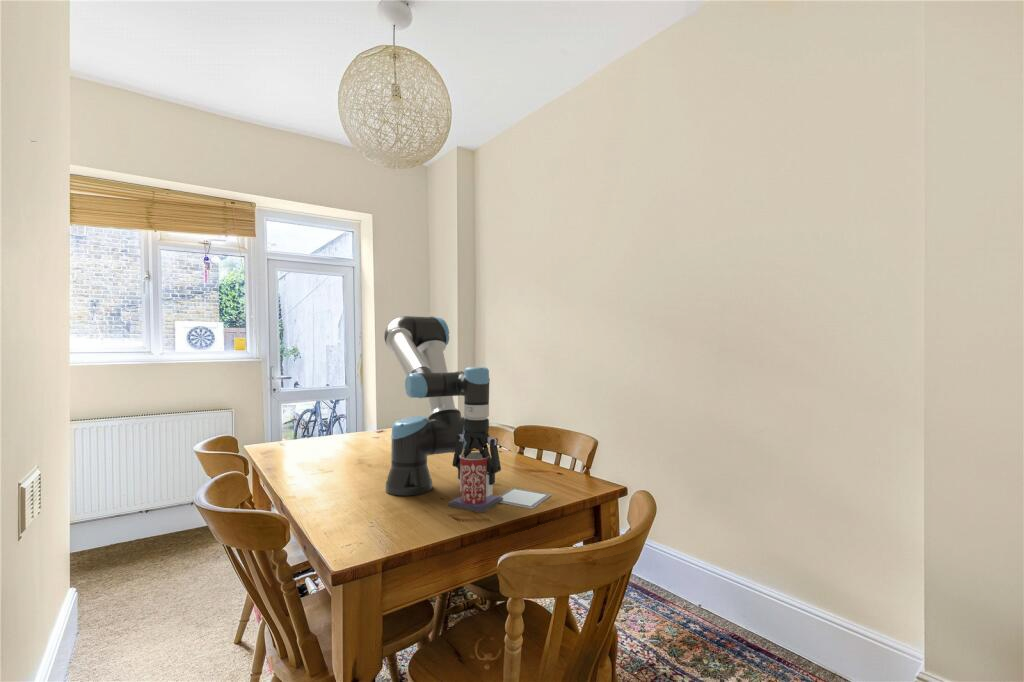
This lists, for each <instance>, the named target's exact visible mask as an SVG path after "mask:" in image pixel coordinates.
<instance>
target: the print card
mask: <svg viewBox="0 0 1024 682" xmlns="http://www.w3.org/2000/svg"><path fill="white" fill-rule="evenodd" d="M498 496H499V497H503V500H501V501H500V503H501V504H504V505H510V506H516V507H519V508H520V507H522V508H526V509H532V510H533V509H534V508H535V507H537V506H539V505H540V504H542V503H543V502H544V501H546V500H547V499H548V498H550V497H551V496H552V494H550V493H547V492H546V493H545V492H540V491H533V490H528V489H524V488H523V489H522V488H516V487H511V488H509V489H508V490H507V491H505V492H503V493H501V494H500V495H498ZM500 503H499V504H500Z"/></svg>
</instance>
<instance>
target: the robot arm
mask: <svg viewBox="0 0 1024 682" xmlns="http://www.w3.org/2000/svg"><path fill="white" fill-rule="evenodd" d="M449 341H450V330H449V326H448V324H447V322H446V321H445V320H444V318H442V317H438V316H437V317H436V316H415V315H414V316H411V315H410V316H409V315H402V316H398V317H397V318H395V319H393V320H391V322H389V323H388V325H387V327H386V328H385V331H384V342H385V345H386V346H387V348H388V349H389V350H390V351H391V352H394V353H393V354H394V355H395V357H396V359H397V361H398V362H399V364H400V366H401V367H402V370H403V372H404V374H405V375H406V377H405V380H404V388H405V393H406V395H407V396H408V397H409V398H413V399H423V398H427V399H428V402H429V408H430V409H429V410H430V413H429V415H428V417H427V416H423V415H421V416H419V415H418V416H408V417H404V418H401V419H397V420H396V421H395V422H393V424H392V425H391V435H390V439H391V457H390V458H391V460H390V463H391V464H390V466H391V467H390V469H389V473H388V475H387V480H386V482H385V492H386V493H388V494H390V495H394V496H400V497H401V496H403V497H405V496H407V497H409V496H416V495H422V494H425V493H428V492H429V491H431V490H432V489H433V478H431V474H430V473H431V472H430V470H429V467H428V456H432V455H433V456H435V455H441V454H449V453H451V454H454V455H453V458H452V464H451V465H452V466H453V467H456V468H457V478H458V480H459V492H460V493H462V491H461V470H460V457H459V456H460V455H461V454H464V457H465V458H466V457H467V456H468V455H469V454H470V453H471V452H473V451H472V450H474V449H475V450H477V451H478V452H480V453H481V455H482V457H483V458H487V457H488V456H490V457H489V459H488V460H487V471H488V473H487V474H486V496H487V497H488V496H490V495H493V493H494V492H493V490H494V489H493V488H494V487H493V485H495V483H496V474H497V473H498V472H500V471H501V470H502V468H501V466H502V465H501V460H500V455H499V449H498V441H499V438H498V437H490V435H489V430H490V419H489V417H490V379H491V378H490V370H489V368H488V367H485V366H468V367H466V368H465V369H464V371H463V370H462V371H461V370H458V371H454V372H452V371H451V372H448V369H447V363H446V359H445V353H444V351H445V350H446V348H447V346H448V344H449ZM457 396H458V397H459V396H464V401H463V402H464V404H463V407H464V409H463V411H464V412H463V414H464V415H463V416H462V414H461V411H460V409H458V408H456V406H455V401H454V397H457ZM488 445H489V447H488Z"/></svg>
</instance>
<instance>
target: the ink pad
mask: <svg viewBox="0 0 1024 682" xmlns="http://www.w3.org/2000/svg"><path fill="white" fill-rule="evenodd" d="M501 500H503V497H499V495H493V494H492V495H490V496H488V497H487V496H486V501H485V502H483V503H480V504H467V503H464V502H463V501H462V495H461V496H459V497H457V498H455V499H453V500H450V501H449V502H448V503H447V506H448V507H452V508H456V509H460V510H461V509H462V510H464V511H465V510H467V511H471V512H475V513H481V514H483V513H485V512H487V511H488V510H490V509H491V508H494V507H495V506H497V505H498V504H500V501H501Z"/></svg>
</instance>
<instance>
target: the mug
mask: <svg viewBox="0 0 1024 682" xmlns="http://www.w3.org/2000/svg"><path fill="white" fill-rule="evenodd" d="M490 456H491V455H490ZM490 456H488V457H487V458H483V457H482V455H481V453H480V452H479V451H471V453H470V454H469V455H468V456H467V457H466V458H465V457H464V454H463V453H462V454H461V455H460V456H459V457H460V470H461V491H462V492H461V496H462V501H463V502H464V503H467V504H480V503H483V502H485V501H486V474H487V473H488V471H487V460H488V459H489V457H490Z"/></svg>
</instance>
